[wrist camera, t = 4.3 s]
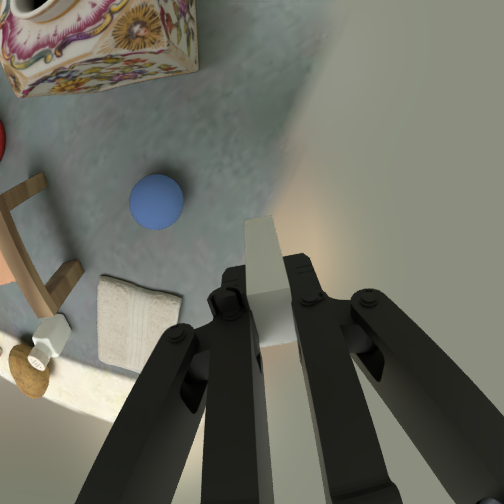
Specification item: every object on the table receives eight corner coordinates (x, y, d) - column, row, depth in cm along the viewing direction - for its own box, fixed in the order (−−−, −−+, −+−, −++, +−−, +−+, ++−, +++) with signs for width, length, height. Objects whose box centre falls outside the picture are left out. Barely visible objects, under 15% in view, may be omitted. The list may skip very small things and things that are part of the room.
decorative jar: (200, 74, 24) (145, 35, 8) (94, 96, 24) (-32, 113, 8) (196, -24, 18) (156, -124, 3) (92, 2, 18) (-14, -41, 2)
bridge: (68, 275, 34) (38, 318, 26) (28, 179, 27) (-18, 206, 19) (84, 272, 34) (54, 316, 26) (43, 171, 27) (-5, 197, 19)
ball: (132, 176, 29) (113, 192, 24) (179, 162, 28) (168, 176, 24) (147, 221, 31) (132, 244, 27) (193, 210, 31) (185, 232, 26)
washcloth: (102, 353, 43) (97, 366, 40) (100, 268, 35) (91, 282, 32) (167, 371, 45) (165, 385, 42) (184, 292, 37) (181, 307, 34)
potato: (52, 343, 41) (35, 376, 34) (59, 382, 47) (47, 410, 40) (12, 323, 39) (-7, 352, 32) (23, 364, 45) (10, 390, 38)
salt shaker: (63, 312, 38) (38, 355, 29) (73, 331, 40) (51, 374, 31) (46, 311, 38) (20, 352, 29) (56, 330, 40) (34, 370, 31)
